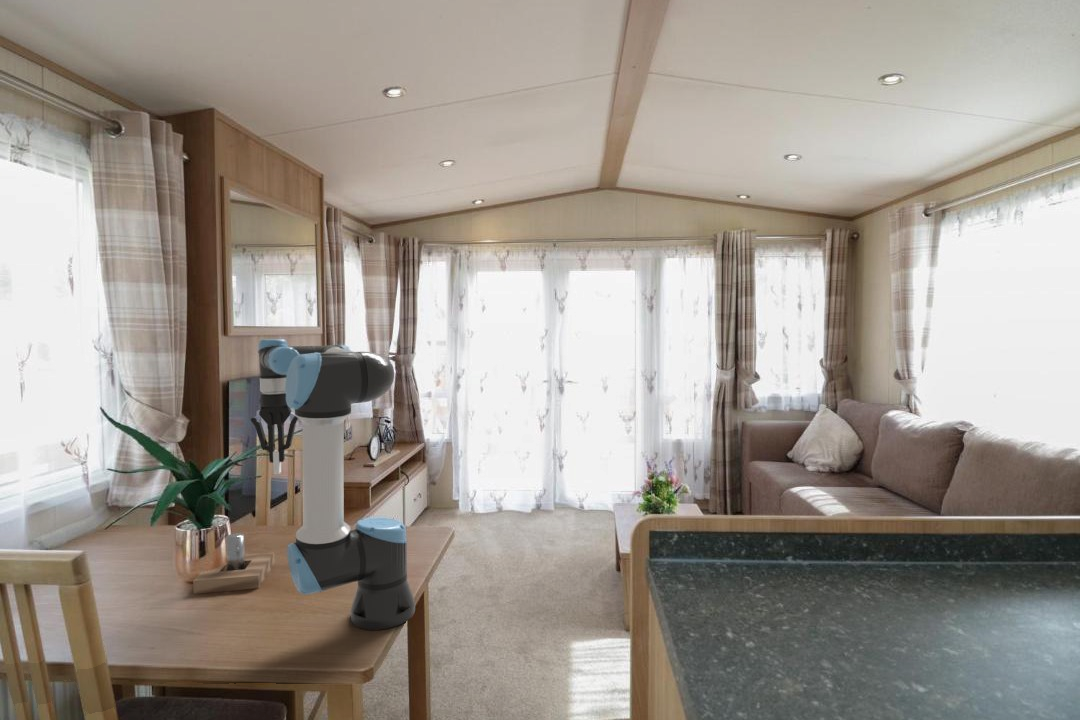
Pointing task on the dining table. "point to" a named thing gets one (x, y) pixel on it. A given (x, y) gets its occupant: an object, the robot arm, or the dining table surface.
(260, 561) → the jig
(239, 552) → the grey metal peg
